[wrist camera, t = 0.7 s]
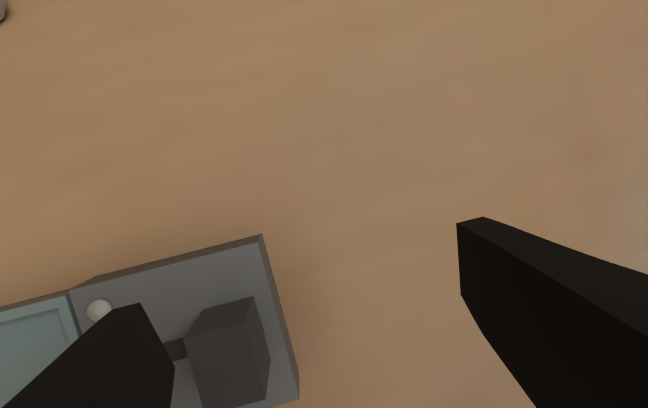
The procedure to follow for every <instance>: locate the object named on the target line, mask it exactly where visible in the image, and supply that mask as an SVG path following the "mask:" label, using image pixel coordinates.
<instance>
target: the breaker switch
mask: <svg viewBox="0 0 648 408" xmlns="http://www.w3.org/2000/svg"><path fill="white" fill-rule="evenodd" d="M183 341H184V345H185V348H186V352H187V355H188V358H189V362H190V365H191V369H192V372H193V375H194V379H195V382H196V386H197V389H198V392H199V396H200V399H201V403H202V406H203V408H236V407H240V406H243V405H247V404H250V403H254V402H258V401H261V400H265V399H266V394H267V386H268V378H269V370H270V362H271V358H270V354H269V351H268V347H267V343H266V340H265V336H264V332H263V329H262V325H261V321H260V318H259V314H258V310H257V307H256V303H255V299H254V296H252V297H248V298H244V299H241V300H237V301H233V302H229V303H225V304H222V305H218V306H214V307H210V308H206V309H203V310H202V312H201V313H200V315H199V316H198V318H197V319H196V321H195V322H194V324H193V325H192V327H191V328H190V330H189V331H188V333H187V334H186V335H185V337H184V338H183Z"/></svg>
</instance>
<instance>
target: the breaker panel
mask: <svg viewBox="0 0 648 408" xmlns="http://www.w3.org/2000/svg"><path fill="white" fill-rule="evenodd" d="M68 291H69V294H70V298H71V301H72V304H73V307H74V310H75V313H76V316H77V319H78V322H79V326H80V329H81V332H82V334H84V333H85V332H86V331H87V330H88V329H89V328H90V327H91V326H93V325H94V324H95V323H96V322H97V321H98V320H100V319H101V318H102V317H103V316H105V315H106V314H107V313H108V312H110V311H111V310H112V309H115V308H119V307H123V306H127V305H131V304H135V303H139V302H140V303H141V305H142V307H143V309H144V310H145V312H146V314H147V316H148V318H149V320H150V322H151V323H152V325H153V327H154V329H155V331H156V333H157V334H158V336H159V338H160V340H161V342H162V344H163V346H164V347H165V349H166V351H167V353H168V355H169V357H170V359H171V360H172V362H173V364H174V366H175V374H174V383H173V392H172V399H171V406H170V408H203V406H202V403H201V399H200V396H199V392H198V389H197V386H196V382H195V379H194V375H193V372H192V369H191V365H190V362H189V358H188V355H187V352H186V348H185V345H184V341H183V338H184V337H185V335H186V334H187V333H188V331H189V330H190V328H191V327H192V325H193V324H194V322H195V321H196V319H197V318H198V316H199V315H200V313H201V312H202V310H203V309H206V308H210V307H214V306H218V305H222V304H225V303H229V302H233V301H237V300H241V299H244V298H248V297H252V296H254V299H255V303H256V307H257V310H258V314H259V318H260V321H261V325H262V329H263V332H264V336H265V340H266V343H267V347H268V351H269V354H270V358H271V362H270V370H269V378H268V386H267V394H266V399H265V400H261V401H258V402H254V403H250V404H247V405H243V406H240V407H236V408H269V407H273V406H277V405H280V404H284V403H287V402H291V401H294V400H298V399H299V372H298V368H297V364H296V360H295V356H294V353H293V349H292V345H291V341H290V338H289V334H288V330H287V326H286V323H285V319H284V315H283V311H282V307H281V304H280V300H279V296H278V292H277V289H276V285H275V281H274V277H273V274H272V270H271V266H270V262H269V258H268V255H267V251H266V247H265V243H264V240H263V236H262V234H260V235H256V236H252V237H248V238H244V239H240V240H236V241H232V242H228V243H224V244H221V245H217V246H213V247H209V248H205V249H201V250H197V251H193V252H189V253H185V254H181V255H177V256H173V257H170V258H166V259H162V260H158V261H154V262H150V263H146V264H142V265H138V266H134V267H130V268H126V269H122V270H119V271H115V272H111V273H107V274H103V275H99V276H95V277H93V278H92V279H90V280H88V281H86V282H84V283H82V284H80V285H78V286H76V287H74V288H72V289H70V290H68Z"/></svg>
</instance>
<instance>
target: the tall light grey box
mask: <svg viewBox="0 0 648 408" xmlns="http://www.w3.org/2000/svg"><path fill="white" fill-rule="evenodd" d="M5 8H6V0H0V21H1V20H2V19H3V18H4V16H5Z"/></svg>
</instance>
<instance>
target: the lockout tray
mask: <svg viewBox="0 0 648 408" xmlns="http://www.w3.org/2000/svg"><path fill="white" fill-rule="evenodd" d="M69 290H70V289H69ZM81 335H82V332H81V329H80V326H79V322H78V319H77V316H76V313H75V310H74V307H73V304H72V301H71V298H70V294H69V291H68V290H65V291H61V292H57V293H53V294H49V295H45V296H41V297H38V298H34V299H30V300H26V301H22V302H18V303H14V304H10V305H6V306H2V307H0V408H2V407H3V406H4V405H5V404H6V403H7V402H9V401H10V400H11V399H12V398H13V397H14V396H15V395H17V394H18V393H19V392H20V391H21V390H22V389H23V388H24V387H25V386H27V385H28V384H29V383H30V382H31V381H32V380H33V379H34V378H35V377H36V376H37V375H39V374H40V373H41V372H42V371H43V370H44V369H45V368H46V367H47V366H48V365H49V364H51V363H52V362H53V361H54V360H55V359H56V358H57V357H58V356H59V355H60V354H62V353H63V352H64V351H65V350H66V349H67V348H68V347H69V346H70V345H71V344H72V343H74V342H75V341H76V340H77V339H78V338H79V337H80V336H81Z"/></svg>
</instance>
